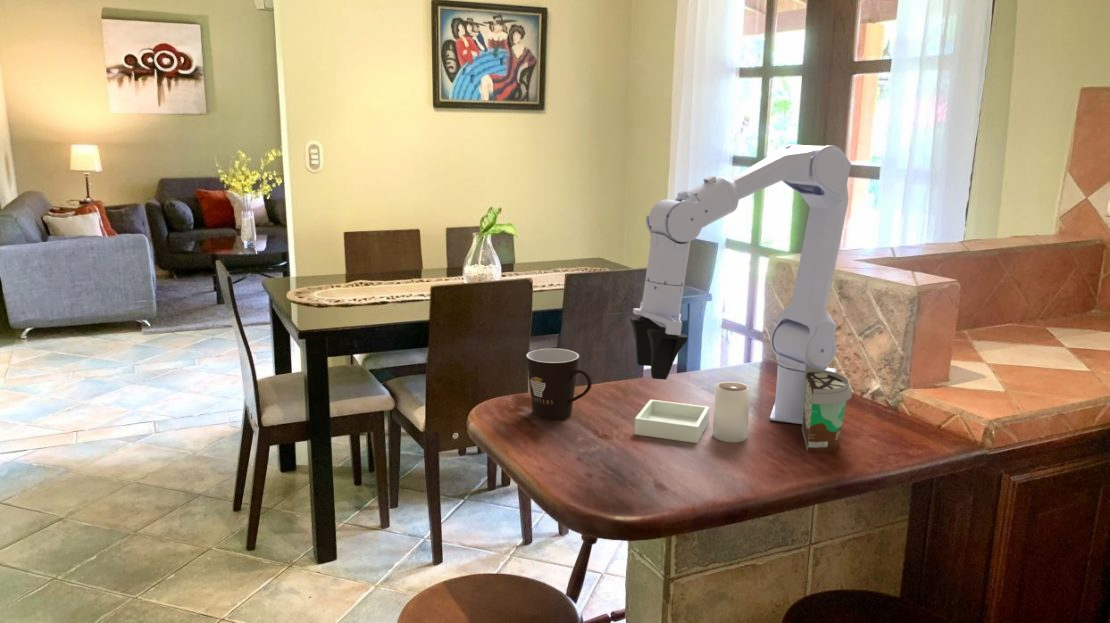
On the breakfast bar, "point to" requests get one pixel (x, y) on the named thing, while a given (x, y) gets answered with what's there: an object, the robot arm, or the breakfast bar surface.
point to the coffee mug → (553, 382)
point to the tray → (672, 420)
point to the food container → (824, 409)
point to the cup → (731, 411)
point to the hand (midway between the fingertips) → (651, 371)
